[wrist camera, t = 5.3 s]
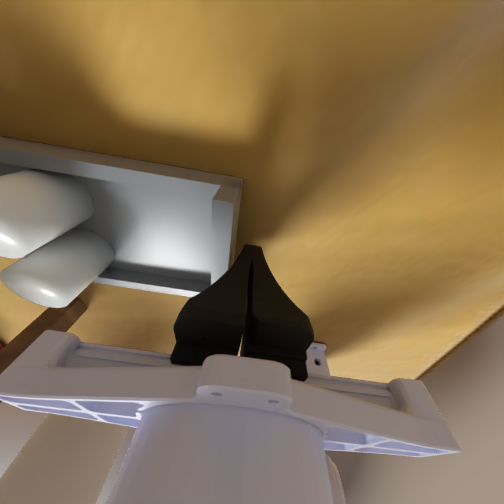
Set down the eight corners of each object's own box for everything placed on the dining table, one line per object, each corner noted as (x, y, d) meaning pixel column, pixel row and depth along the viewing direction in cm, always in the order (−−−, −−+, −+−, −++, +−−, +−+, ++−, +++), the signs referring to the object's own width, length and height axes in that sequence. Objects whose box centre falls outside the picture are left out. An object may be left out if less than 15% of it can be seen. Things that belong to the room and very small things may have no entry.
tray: (243, 178, 11) (229, 214, 7) (231, 285, 17) (219, 338, 13) (-23, 132, 11) (-204, 142, 7) (60, 259, 17) (-7, 306, 13)
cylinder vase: (99, 384, 40) (-67, 651, 20) (68, 360, 32) (-248, 750, 13) (155, 390, 40) (43, 665, 20) (136, 367, 32) (-73, 774, 12)
